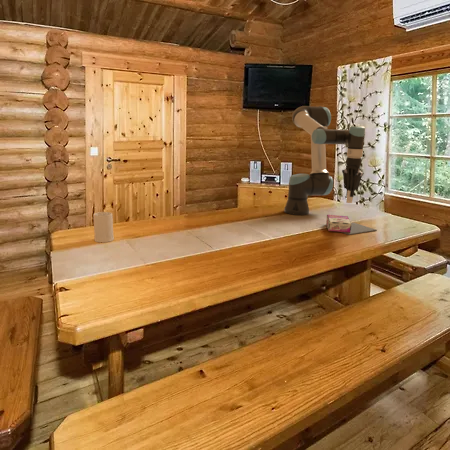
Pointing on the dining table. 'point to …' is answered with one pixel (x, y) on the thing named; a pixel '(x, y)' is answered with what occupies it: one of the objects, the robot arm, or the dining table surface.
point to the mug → (103, 227)
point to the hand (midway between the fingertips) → (349, 202)
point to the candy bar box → (338, 223)
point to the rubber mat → (358, 229)
